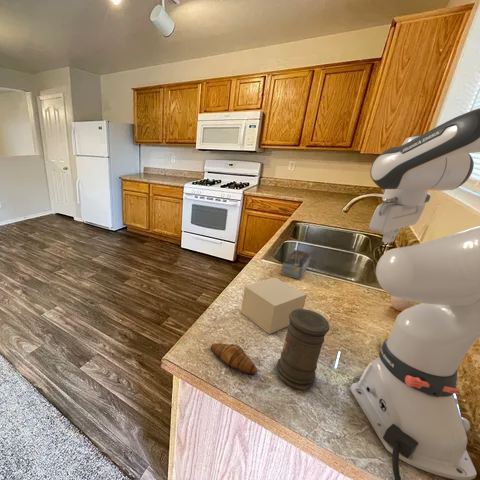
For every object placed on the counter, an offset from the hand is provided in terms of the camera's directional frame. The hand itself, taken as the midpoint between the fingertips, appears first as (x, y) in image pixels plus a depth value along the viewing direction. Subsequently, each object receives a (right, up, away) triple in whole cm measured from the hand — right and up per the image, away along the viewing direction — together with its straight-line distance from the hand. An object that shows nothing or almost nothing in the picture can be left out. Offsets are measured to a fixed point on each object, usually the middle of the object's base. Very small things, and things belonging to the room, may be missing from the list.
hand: (387, 241), depth 79 cm
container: (-33, -35, -11) cm, 50 cm away
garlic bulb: (+19, -25, +17) cm, 36 cm away
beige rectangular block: (-30, -26, +12) cm, 42 cm away
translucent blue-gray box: (-4, -14, +45) cm, 48 cm away
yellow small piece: (+1, -32, -2) cm, 32 cm away
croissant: (-49, -33, -7) cm, 59 cm away
